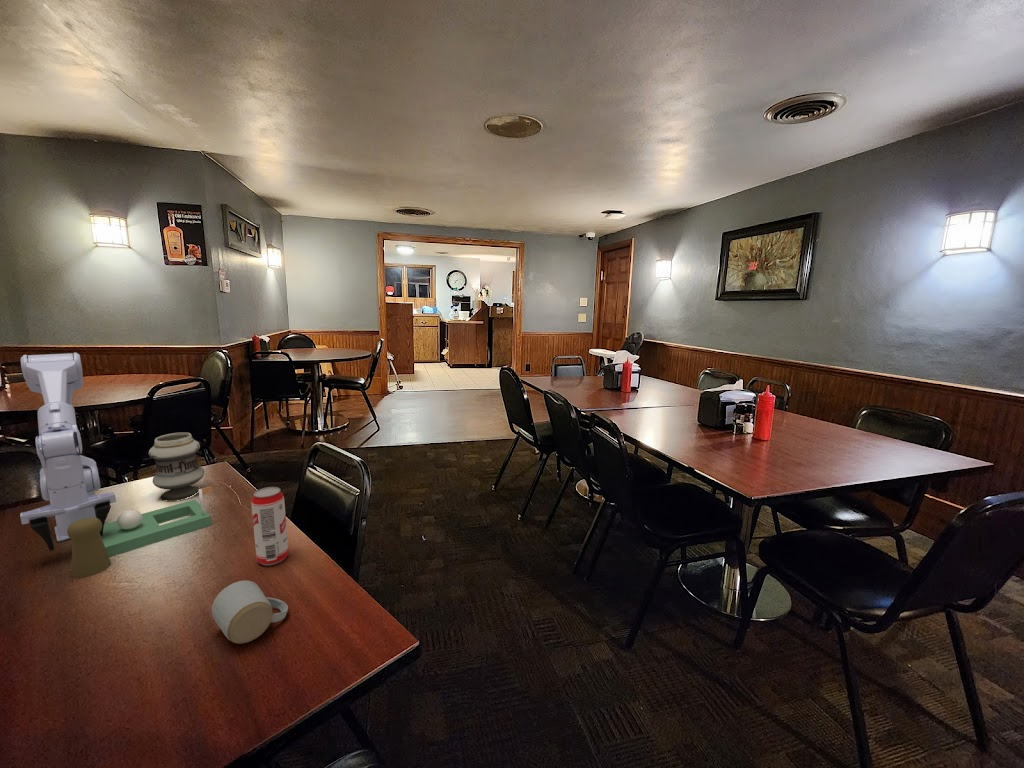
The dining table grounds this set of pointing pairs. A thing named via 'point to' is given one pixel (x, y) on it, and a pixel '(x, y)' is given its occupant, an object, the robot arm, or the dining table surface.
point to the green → (154, 527)
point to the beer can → (269, 526)
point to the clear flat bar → (201, 493)
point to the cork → (87, 548)
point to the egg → (129, 519)
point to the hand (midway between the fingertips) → (76, 541)
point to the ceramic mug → (245, 611)
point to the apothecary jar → (176, 465)
